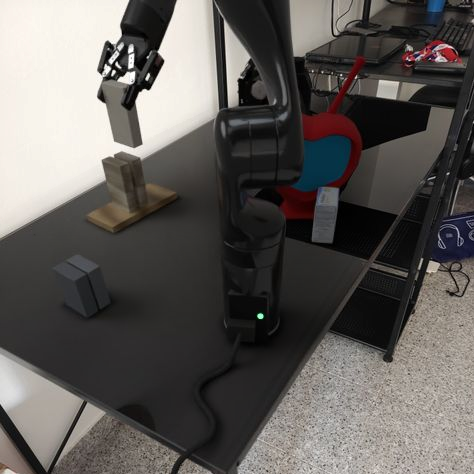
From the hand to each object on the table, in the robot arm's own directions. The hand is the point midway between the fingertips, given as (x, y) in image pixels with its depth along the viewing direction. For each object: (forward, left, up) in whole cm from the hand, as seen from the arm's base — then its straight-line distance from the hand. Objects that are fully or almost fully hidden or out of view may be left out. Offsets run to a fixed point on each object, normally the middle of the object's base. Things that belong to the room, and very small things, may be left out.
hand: (113, 104), depth 80 cm
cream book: (+2, -1, -7) cm, 8 cm away
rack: (+5, +2, -24) cm, 25 cm away
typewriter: (+39, -32, -24) cm, 56 cm away
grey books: (-29, 0, -24) cm, 38 cm away
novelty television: (+10, -37, -24) cm, 45 cm away
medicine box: (-1, -42, -24) cm, 48 cm away
